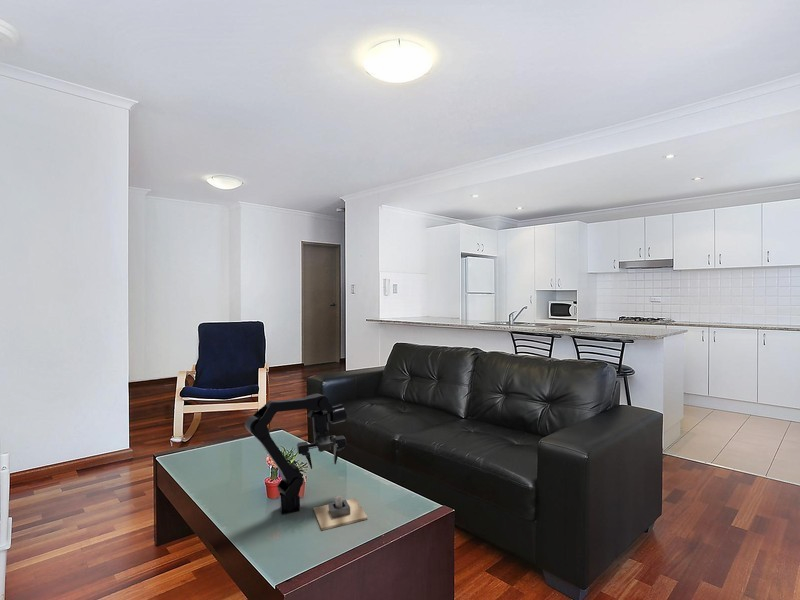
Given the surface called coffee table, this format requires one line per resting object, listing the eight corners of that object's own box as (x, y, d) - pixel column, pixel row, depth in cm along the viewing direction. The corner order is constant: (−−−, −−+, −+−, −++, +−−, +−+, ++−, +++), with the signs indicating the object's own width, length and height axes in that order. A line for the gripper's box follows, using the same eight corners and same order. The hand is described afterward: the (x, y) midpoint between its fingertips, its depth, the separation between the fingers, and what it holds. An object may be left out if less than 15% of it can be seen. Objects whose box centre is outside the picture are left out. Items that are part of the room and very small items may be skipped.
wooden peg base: (321, 530, 150) (320, 511, 150) (313, 509, 165) (312, 492, 165) (367, 519, 156) (366, 501, 155) (355, 500, 171) (354, 483, 170)
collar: (332, 518, 156) (332, 511, 156) (328, 510, 162) (328, 503, 162) (350, 514, 158) (350, 507, 158) (346, 506, 164) (345, 499, 164)
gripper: (298, 436, 164) (301, 478, 164) (348, 428, 170) (351, 469, 171) (295, 428, 175) (298, 468, 175) (342, 421, 181) (345, 459, 181)
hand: (323, 466), depth 175 cm, fingers open, 9 cm apart
